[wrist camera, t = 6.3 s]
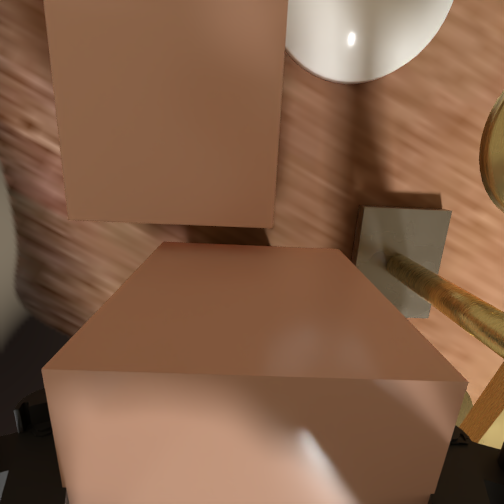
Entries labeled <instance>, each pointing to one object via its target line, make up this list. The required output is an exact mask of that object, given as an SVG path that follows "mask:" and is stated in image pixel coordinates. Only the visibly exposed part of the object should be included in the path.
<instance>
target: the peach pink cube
mask: <svg viewBox="0 0 504 504" xmlns="http://www.w3.org/2000/svg"><path fill="white" fill-rule="evenodd" d="M42 375H43V381H44V386H45V392H46V398H47V403H48V409H49V414H50V420H51V426H52V431H53V437H54V442H55V448H56V454H57V459H58V465H59V470H60V476H61V481H62V487H64V488H67V494H68V500H69V504H428V501H429V497H430V494H434V493H435V490H436V487H437V483H438V480H439V477H440V473H441V470H442V467H443V464H444V460H445V457H446V454H447V451H448V447H449V444H450V441H451V438H452V434H453V431H454V428H455V425H456V421H457V418H458V415H459V412H460V408H461V405H462V402H463V398H464V395H465V392H466V389H467V385H468V381H467V380H466V379H465V378H464V377H463V376H462V375H461V374H460V373H459V372H458V371H457V370H456V369H455V368H454V367H453V366H452V365H451V364H450V363H449V362H448V361H447V359H446V358H445V357H444V356H443V355H442V354H441V353H440V352H439V351H438V350H437V349H436V348H435V347H434V346H433V345H432V344H431V343H430V342H429V341H428V340H427V339H426V338H425V337H424V336H423V335H422V334H421V333H420V332H419V331H418V330H417V329H416V328H415V327H414V326H413V325H412V324H411V323H410V322H409V321H408V320H407V318H406V317H405V316H404V315H403V314H402V313H401V312H400V311H399V310H398V309H397V308H396V307H395V306H394V305H393V304H392V303H391V302H390V301H389V300H388V299H387V298H386V297H385V296H384V295H383V294H382V293H381V292H380V291H379V290H378V289H377V288H376V287H375V286H374V285H373V284H372V283H371V282H370V281H369V280H368V279H367V278H366V276H365V275H364V274H363V273H362V272H361V271H360V270H359V269H358V268H357V267H356V266H355V265H354V264H353V263H352V262H351V261H350V260H349V259H348V258H347V257H346V256H345V255H344V254H343V253H342V252H341V251H340V250H339V249H323V248H300V247H276V246H253V245H229V244H206V243H183V242H163V243H162V244H161V245H160V246H159V247H158V248H157V249H156V250H155V251H154V252H153V253H152V254H151V255H150V256H149V257H148V258H147V259H146V260H145V261H144V263H143V264H142V265H141V266H140V267H139V268H138V269H137V270H136V271H135V272H134V273H133V274H132V275H131V276H130V277H129V278H128V279H127V280H126V281H125V282H124V283H123V284H122V285H121V287H120V288H119V289H118V290H117V291H116V292H115V293H114V294H113V295H112V296H111V297H110V298H109V299H108V300H107V301H106V302H105V303H104V304H103V305H102V306H101V307H100V308H99V310H98V311H97V312H96V313H95V314H94V315H93V316H92V317H91V318H90V319H89V320H88V321H87V322H86V323H85V324H84V325H83V326H82V327H81V328H80V329H79V330H78V331H77V333H76V334H75V335H74V336H73V337H72V338H71V339H70V340H69V341H68V342H67V343H66V344H65V345H64V346H63V347H62V348H61V349H60V350H59V351H58V352H57V354H55V356H54V357H53V358H52V359H51V360H50V361H49V362H48V363H47V364H46V365H45V366H44V367H43V368H42Z"/></svg>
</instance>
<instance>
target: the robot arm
mask: <svg viewBox="0 0 504 504" xmlns="http://www.w3.org/2000/svg"><path fill="white" fill-rule="evenodd" d="M14 414H15V419H16V424H17V428H18V432H16V433H12V434H8V435H3V436H0V504H69V500H68V494H67V488H64V487H62V481H61V476H60V470H59V465H58V459H57V454H56V448H55V442H54V437H53V431H52V426H51V420H50V414H49V409H48V403H47V398H46V392H45V388H43V389H41V390H38V391H35V392H33V393H31V394H29V395H27V396H26V397H25V398H23V399H22V400H21V401H20V402H19V403H18V404H17V406H16V407H15V409H14ZM428 504H504V442H503V445H502V447H501V449H497V448H493V447H490V446H486V445H483V444H479V443H476V442H473V441H471V439H470V438H469V436H468V435H467V434H466V433H465V432H464V431H463V430H462V429H461V428H459V427H458V426H456V425H455V428H454V431H453V434H452V438H451V441H450V444H449V447H448V451H447V454H446V457H445V460H444V464H443V467H442V470H441V473H440V477H439V480H438V483H437V487H436V490H435V493H434V494H430V497H429V501H428Z"/></svg>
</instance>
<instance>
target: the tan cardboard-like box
mask: <svg viewBox="0 0 504 504" xmlns="http://www.w3.org/2000/svg"><path fill="white" fill-rule="evenodd" d="M43 2H44V10H45V19H46V28H47V37H48V46H49V55H50V64H51V72H52V81H53V90H54V99H55V108H56V117H57V126H58V134H59V143H60V152H61V161H62V170H63V179H64V188H65V196H66V205H67V214H68V220H80V221H104V222H129V223H154V224H178V225H203V226H228V227H252V228H273V221H274V206H275V191H276V176H277V161H278V146H279V131H280V116H281V102H282V87H283V72H284V57H285V42H286V27H287V12H288V0H43Z"/></svg>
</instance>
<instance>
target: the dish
mask: <svg viewBox="0 0 504 504" xmlns="http://www.w3.org/2000/svg"><path fill="white" fill-rule="evenodd" d="M452 2H453V0H288V12H287V27H286V42H285V51H286V53H287V54H288V55H289V56H290V57H291V58H292V60H293V61H295V62H296V63H297V64H298V65H299V66H300V67H301V68H303V69H304V70H306V71H307V72H309V73H310V74H312V75H314V76H316V77H318V78H320V79H323V80H326V81H330V82H333V83H340V84H359V83H365V82H370V81H373V80H376V79H379V78H381V77H383V76H386V75H388V74H390V73H391V72H393V71H395V70H396V69H398V68H400V67H401V66H403V65H404V64H406V63H408V62H409V61H410V60H411V59H413V58H414V57H415V56H416V55H418V54H419V53H420V52H421V51H422V50H423V49H424V48H425V47H426V46H427V44H428V43H429V42H430V41H431V39H432V38H433V37H434V36H435V34H436V33H437V32H438V30H439V28H440V27H441V25H442V23H443V22H444V20H445V18H446V16H447V14H448V12H449V10H450V8H451V5H452Z"/></svg>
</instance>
